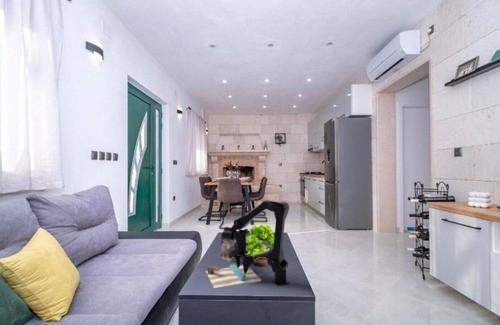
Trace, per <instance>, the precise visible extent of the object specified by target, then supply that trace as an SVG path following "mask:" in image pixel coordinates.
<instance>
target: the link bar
mask: <svg viewBox="0 0 500 325" xmlns="http://www.w3.org/2000/svg"><path fill="white" fill-rule="evenodd" d="M229 268H230V269H231V270H232V271H233V272H234V273H235V275H236V276H237V277H238V278H239V279H240V280H241V281H245V280H247V276H246V275H245V274H244V273H243V272H242V271H241V270H240V269H239V268H238V267H237V265H236V263H235V264H230V265H229Z"/></svg>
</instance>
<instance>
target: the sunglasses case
mask: <svg viewBox="0 0 500 325" xmlns="http://www.w3.org/2000/svg"><path fill="white" fill-rule="evenodd" d="M253 262H254V263H253V266H255V267H256V268H257V267H260V268H262V267H266V268H268V267H269V260H268V258H266V257H258V258H256V259H255V258H254V261H253Z"/></svg>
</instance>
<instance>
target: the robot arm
mask: <svg viewBox="0 0 500 325" xmlns="http://www.w3.org/2000/svg"><path fill="white" fill-rule="evenodd" d="M266 210H268V211H271V212H273V214H274V219H275V224H274V226H275V227H274V234H273V236H274V237H273V244H272V245H273V246H272V249H271V250H269V251H268V256H269V257H268V265H270V268H271V270H272V273H274V278H273V279H271V281H272V283H274V284H275V285H276V286H283V285H288V284H290V282H289V281H288V280H287V268H288V267H289V263H288V261H287V260H286V259H285V256H284V255H285V254H284V249H283V242H284V233H285V221H286V219H287V216H288V214H289V211H290V205H289V204H288V202H286V201H281V202H279V201H271V200H268V199H266V200H263V201H262V202H261V203H259V204H258V205H257V206H256V207H254V208H253V209H252V210H250V211H249V212H248V213H246V214H245V215H242V216H240V217H238V218H236V219H234V220H233V225H232V226H231V227H230V226H229V227H228V226H225V227H223V231H222V233H223V234H222V238H223V239H224V240H232V241H233V240H234V239H236V243H234V246H233V247H231V248H229V249H227V250H226V251H225V252H226V255H227V257H229V258H232V257H234V258H235V261H234V262H235V265H236V266H237V267H238V268H239V267H240V266H241V265H242V266H243V270H244V274H246V273H247V271H248V269H249V268H250V266H251V264H252V263H253V262H254V261H255V258H254V256H253V255H251V254H250V253H249V251H248V250H247V247H248V246H249V244H248V243H247V235H249V234H250V233H251V231H250V230H248V229H247V227H248V226H249V224H251V222H252V221H253V219H255V218H257V217H258V216H259V215H260V214H261V213H263V212H265V211H266ZM244 228H245V229H244Z"/></svg>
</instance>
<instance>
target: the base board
mask: <svg viewBox="0 0 500 325" xmlns="http://www.w3.org/2000/svg"><path fill="white" fill-rule="evenodd" d="M239 269H240V270H241V271H242V272H243V273H244V270H243V265H240V267H239ZM205 273H206V275H207V276H208V279H209V281H210V283H211V285H212V287H213V289H215V288H221V287H222V288H223V287H228V286H233V285H239V284H245V283H246V284H247V285H249V284H254V283H258V282H262V279H261V278H260V277H259V275H257V273H255V272H254V271H253V270H252V268H251V267H249V269H248V271H247V273H246V274H245V275H246V276H247V280H245V281H241V280H240V279H239V278H238V277H237V276H236V275H235V273H234V272H233V271H232V270H231V269H230V267H225V268H220V269H219V270H218V271H214V273H212V274H211V275H210V274H208V270H205Z"/></svg>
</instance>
